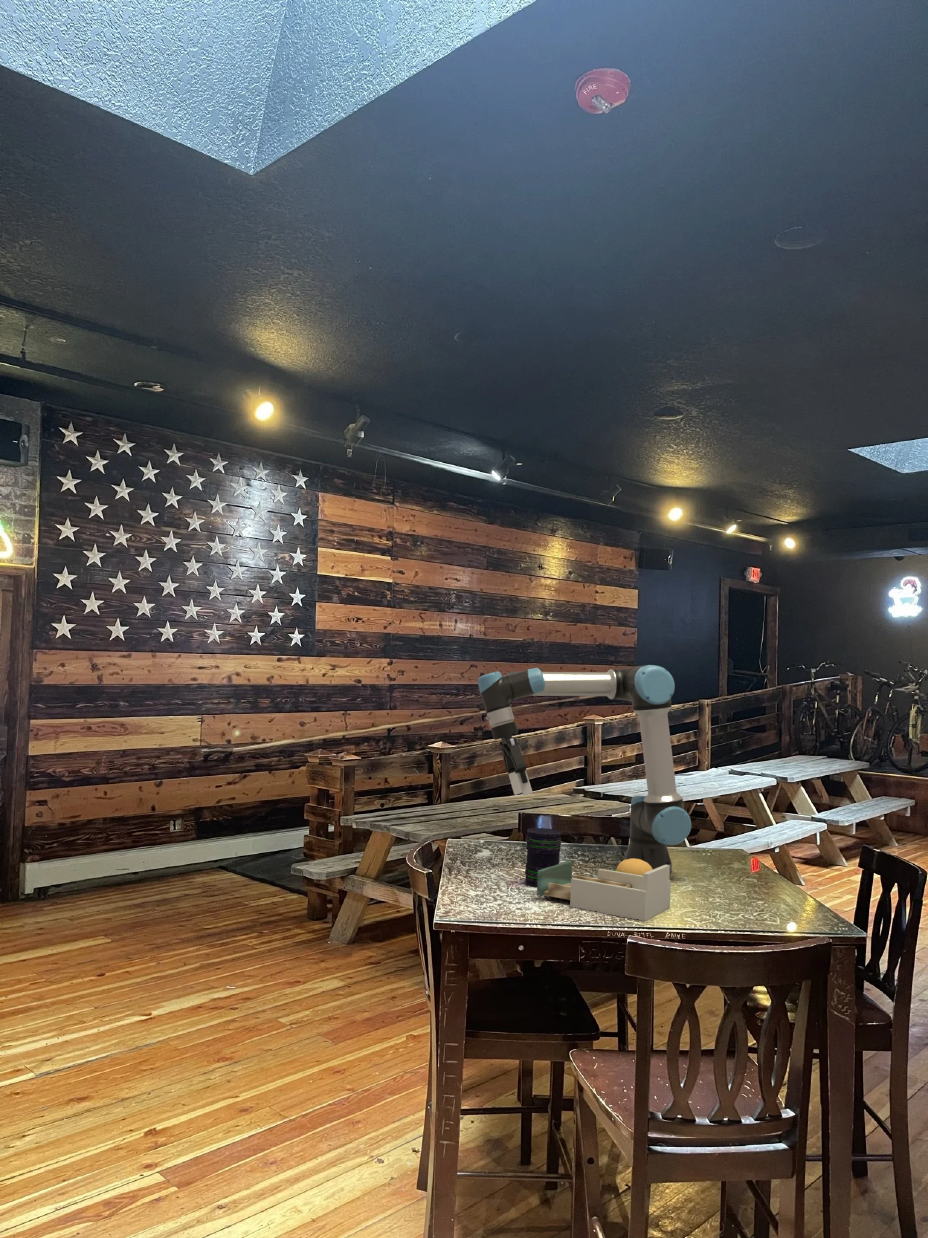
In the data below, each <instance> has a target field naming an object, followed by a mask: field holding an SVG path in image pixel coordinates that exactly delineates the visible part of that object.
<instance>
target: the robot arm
mask: <svg viewBox="0 0 928 1238" xmlns="http://www.w3.org/2000/svg"><path fill="white" fill-rule="evenodd" d="M477 685H478V689H479V694H480V696H481V700H482V704H483V706H484V709H485V713H486V717H485V720H487V721H488V723H489V726H490V727H491V729H490V730H491V731H490V732H491V735H492V738H493V740H495V741H497V740H500V739H501V741H499V745H500V749H501V754H502V759H503V764H504V769H505V771H506V773H507V775H508V778H509V782H510V785H511V788H512V791H513V795H514V796H517V795H519V794H522V795H523V796H527V795H531V794H533V792H534V791H533V789H532V786H531V783H530V779H529V776H528V773H527V769H528V766H527V763H526V761H525V758H524V757H523V755H522V751H521V749H520V747H519V744H518V741H517V738H516V737H513V736H514V735H517V734H518V733H519V730H518V727H517V724H516V722H515V721H514V720H515V716H514V714H513V710H512V709H513V708H512V707H511V704H510V703H511V701H514V700H517V699H521V698H526V697H529V696H534V697H535V696H537V697H538V696H540V697H541V696H542V697H543V696H545V697H549V696H550V697H551V696H552V697H553V696H555V697H557V696H558V697H607V698H608V699H609V700H620V701H621V700H622V701H627V702H631V704H632V711H633V712H634V713H635V714H636V715H637V716H638V719H639V728H640V736H641V745H642V752H643V753H642V754H643V762H644V771H645V779H646V787H647V795H633V796H632V797H631V800H630V806H629V808H630V819H629V821H630V825H629V842H628V843H629V844H628V847H627V849H626V851H625V855H624V858H623V861H624V860H627V859H632V858H633V859H640V860H643V861H645V862H647V863H648V864H649V865H650V866H651V867H652V869H656V868H658V867H661V866H663V865H670V873H671V872H673V864H672V860H671V856H670V852H669V849H668V846H675V845H679V844H682V843H683V842H684V841H685V840H686V839H687V837H688V836H689V835H690V832H691V830H692V820H691V817H690V815H689V814H688V812H687V811H686V810H685V807H684V799H683V796H682V795H681V794H679V792H678V791H677V783H676V776H675V775H676V773H675V767H674V759H673V750H672V742H671V734H670V733H671V732H670V726H669V718H668V717H669V715H668V714H669V711H671V709H672V708H673V707H672V697H673V695H674V693H675V689H676V688H675V685H676V684H675V680H674V677H673V676H672V674H671V673H670V672H669V671H668V670H667V669H666V668H664V667H662V666H659V665H654V664H648V665H636V666H631V667H626V668H625V667H624V668H613V669H612V668H610V669H608V670H607V672H598V671H597V672H594V671H592V672H591V671H590V672H588V671H586V672H585V671H584V672H583V671H574V672H573V671H541V669H540V668H538V667H534V668H528V669H526V670H522V671H509V672H507V673H506V674H505V675H504V676H503V675H502V673H501V672H500V671H494V672H490V673H487V674H483V675H481V676H479V677H478V678H477Z"/></svg>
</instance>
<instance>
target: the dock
mask: <svg viewBox="0 0 928 1238" xmlns="http://www.w3.org/2000/svg"><path fill="white" fill-rule="evenodd" d="M670 873H671V872H670V865H663V866H661V867H658V868H656V869H653V870H651V871H648V872H646V873H643V876H641V875H635V874H629V873H623V872H617V871H615V870H611V869H604V868H598V869H597V879H601V880H607V881H613V882H618V883H624V884H630V885H632V888H628V887H622V886H616V885H611V884H605V883H599V882H593V881H588V880H582V879H576V878H572V879H571V896H570V900H569V901H570V903H569V907H570V908H574V907H576V908H575V909H579V908H582V909H581V910H585V911H590V910H591V911H590V912H595V911H597V912H596V913H599V914H600V913H601V914H607V915H610V914H612V915H611V916H615V915H616V917H621V916H622V917H621V918H627V919H631V918H632V919H631V920H636V919H639V920H638V921H641V920H642V921H641V922H646V921H648V920H650V919H651V918H653V916H654V917H656V916H657V915H659V914H661V913H664V912H665V911H667V910H669V909H671V887H672V886H671V885H672V880H671V879H670ZM649 918H650V919H649ZM647 919H648V920H647Z"/></svg>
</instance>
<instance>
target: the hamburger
mask: <svg viewBox="0 0 928 1238" xmlns="http://www.w3.org/2000/svg"><path fill="white" fill-rule="evenodd" d="M651 870H653V869H652V867H651V866H650V865H649V864H648V863H647V862H645V861H643V860H640V859H633V858H632V859H627V860H624V859H623V860H622V861H621V862H619V863H618V865H617V867H616V869H615V870H614V871H617V872H623V873H629V874H635V875H641V876H643V873H646V872H648V871H651Z"/></svg>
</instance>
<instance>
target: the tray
mask: <svg viewBox="0 0 928 1238" xmlns="http://www.w3.org/2000/svg"><path fill="white" fill-rule="evenodd" d="M572 878H576V879H582V880H588V881H593V882H599V883H605V884H611V885H616V886H622V887H628V888H632V885H630V884H624V883H618V882H613V881H607V880H601V879H598V878H594V877H588V876H583V875H578V874H577V875H576V874H573V861H565V862H562V863H559V864H558V865H554V866H551V867H548V868H545V869H541V870H538V882H537V889H536V896H539V897H542V896H548V897H553V898H556V899H557V898H559V899H564V900H569V901H570V896H571V879H572Z"/></svg>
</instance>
